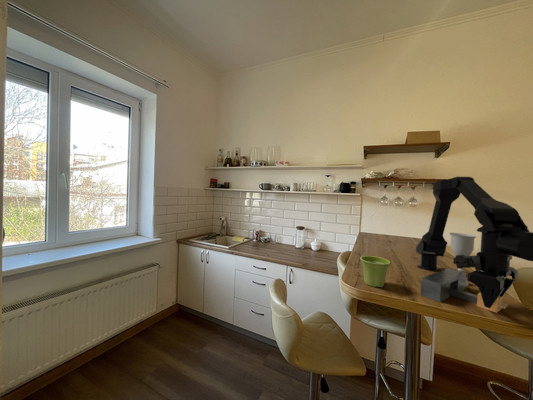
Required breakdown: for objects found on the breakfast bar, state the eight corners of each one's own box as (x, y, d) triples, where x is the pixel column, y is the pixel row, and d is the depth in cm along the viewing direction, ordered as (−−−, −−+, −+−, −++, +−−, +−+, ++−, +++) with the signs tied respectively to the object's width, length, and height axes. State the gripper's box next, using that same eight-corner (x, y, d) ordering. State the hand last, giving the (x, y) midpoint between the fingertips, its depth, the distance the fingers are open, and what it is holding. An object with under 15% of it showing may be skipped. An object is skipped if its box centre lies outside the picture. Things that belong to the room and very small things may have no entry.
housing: (447, 283, 76) (448, 268, 76) (465, 288, 72) (466, 273, 72) (420, 294, 66) (421, 277, 66) (439, 302, 62) (440, 283, 62)
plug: (432, 290, 70) (432, 279, 70) (437, 287, 72) (438, 277, 72) (503, 315, 56) (504, 302, 56) (508, 310, 58) (508, 298, 58)
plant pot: (354, 282, 74) (355, 258, 74) (366, 276, 80) (367, 254, 80) (381, 292, 67) (383, 265, 67) (393, 285, 73) (394, 260, 73)
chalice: (472, 283, 77) (475, 235, 77) (474, 288, 72) (477, 237, 72) (446, 277, 82) (449, 232, 82) (446, 282, 77) (449, 234, 76)
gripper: (469, 241, 71) (466, 286, 71) (445, 246, 61) (442, 298, 62) (519, 249, 61) (516, 301, 62) (501, 257, 52) (497, 319, 52)
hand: (491, 304), depth 60 cm, fingers open, 7 cm apart
